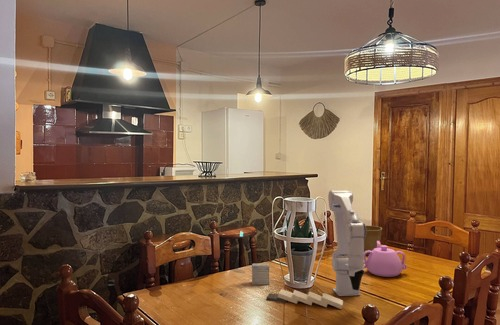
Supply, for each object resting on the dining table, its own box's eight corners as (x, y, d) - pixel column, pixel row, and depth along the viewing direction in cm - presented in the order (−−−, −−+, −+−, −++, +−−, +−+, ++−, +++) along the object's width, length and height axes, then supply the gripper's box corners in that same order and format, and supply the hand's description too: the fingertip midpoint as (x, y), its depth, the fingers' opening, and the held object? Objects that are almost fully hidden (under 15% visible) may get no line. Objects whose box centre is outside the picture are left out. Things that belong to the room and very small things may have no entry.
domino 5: (343, 300, 142) (323, 292, 144) (342, 305, 137) (322, 297, 139) (341, 304, 142) (322, 296, 144) (341, 309, 137) (320, 300, 140)
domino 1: (288, 295, 149) (269, 293, 151) (285, 299, 144) (266, 297, 146) (288, 299, 149) (269, 297, 151) (285, 303, 144) (266, 301, 146)
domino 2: (300, 295, 147) (281, 289, 150) (297, 300, 142) (278, 293, 145) (299, 299, 147) (280, 292, 150) (296, 303, 142) (277, 297, 145)
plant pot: (364, 249, 227) (364, 224, 227) (386, 254, 215) (386, 227, 215) (350, 253, 217) (350, 227, 217) (373, 259, 206) (373, 231, 206)
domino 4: (328, 298, 144) (309, 291, 146) (327, 303, 139) (307, 295, 141) (327, 302, 144) (308, 294, 146) (326, 307, 139) (306, 299, 141)
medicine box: (268, 281, 168) (268, 263, 168) (269, 284, 164) (269, 266, 164) (251, 281, 168) (251, 263, 168) (252, 285, 164) (252, 266, 164)
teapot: (398, 266, 192) (398, 240, 192) (412, 279, 171) (412, 250, 170) (356, 265, 194) (356, 239, 194) (365, 278, 173) (365, 249, 173)
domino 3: (313, 296, 145) (294, 289, 147) (312, 301, 141) (292, 294, 142) (312, 300, 146) (293, 293, 147) (311, 305, 141) (291, 298, 142)
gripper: (350, 248, 146) (350, 281, 146) (340, 257, 133) (340, 293, 134) (368, 250, 142) (368, 285, 143) (359, 260, 130) (359, 297, 130)
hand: (355, 289), depth 138 cm, fingers closed
